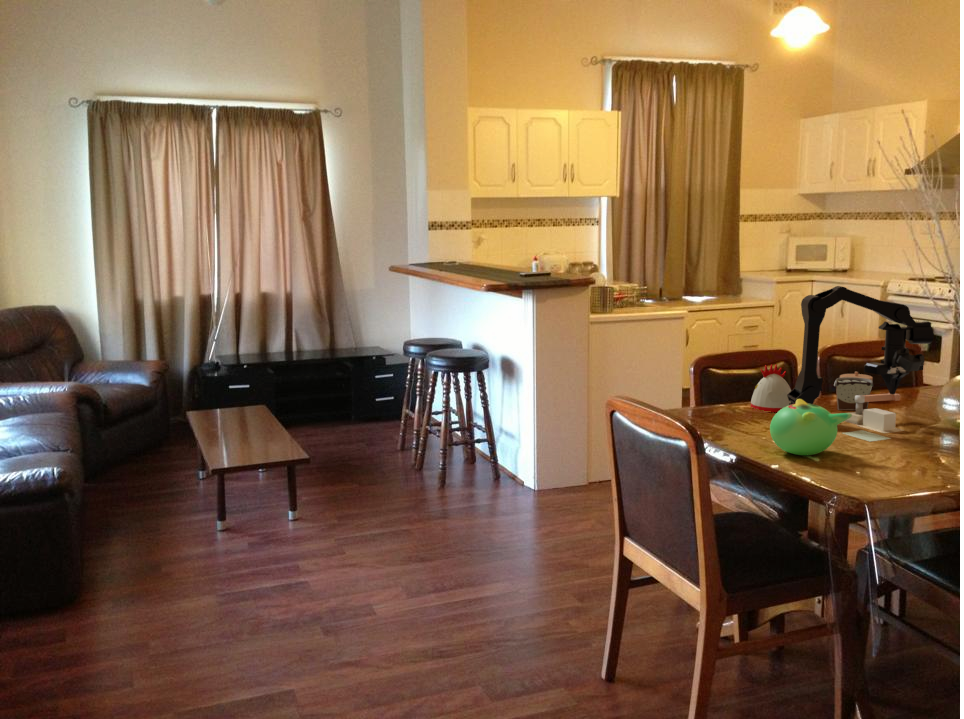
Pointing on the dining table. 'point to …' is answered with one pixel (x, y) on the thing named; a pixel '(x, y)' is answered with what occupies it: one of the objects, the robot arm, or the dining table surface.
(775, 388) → the kitchen timer
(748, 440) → the dining table surface
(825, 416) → the toy bird
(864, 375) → the lidded jar
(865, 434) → the mat
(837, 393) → the food container
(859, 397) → the latch bar
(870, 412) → the block
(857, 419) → the housing
